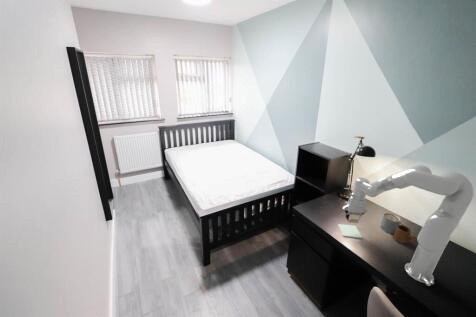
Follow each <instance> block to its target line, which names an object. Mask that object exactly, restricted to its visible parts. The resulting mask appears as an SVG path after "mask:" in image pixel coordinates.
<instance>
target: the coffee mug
mask: <svg viewBox="0 0 476 317" xmlns="http://www.w3.org/2000/svg"><path fill="white" fill-rule="evenodd" d="M398 225H404V226H406V223H405V222H402V221H401V217H399V216H398V215H397V214H394V213H391V212H384V213H383V215H382V217H381V221H380V224H379V228H380V227H381V228H380V229H381V230H382V231H384V232H385V233H389V234H394V233H395V231H396V228H397V226H398Z"/></svg>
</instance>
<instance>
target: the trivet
mask: <svg viewBox="0 0 476 317" xmlns="http://www.w3.org/2000/svg"><path fill="white" fill-rule="evenodd" d="M337 226H338V228H339V231H340V233H341V236H342V237H344V238H345V237H346V238H352V239H353V238H354V239H362V238H363V237H362V235H361V233H360V231H359V229H358V228H357V226H356V225H351V224H343V223H341V224H340V223H337Z"/></svg>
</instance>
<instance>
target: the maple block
mask: <svg viewBox="0 0 476 317" xmlns="http://www.w3.org/2000/svg"><path fill="white" fill-rule="evenodd" d="M360 220H361V216H360V214H359V213H352V212H350V214H349V219H348V220H347V222H348V223H353V224H359V221H360Z"/></svg>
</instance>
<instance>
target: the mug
mask: <svg viewBox="0 0 476 317" xmlns="http://www.w3.org/2000/svg"><path fill="white" fill-rule="evenodd" d="M393 234H394V235H393V239H394V240H395V242H398V243H400V244H403V245H404V244H407V243H408V241H409V242H411V243H414V242H416V241H417V237H416V235H415V234H413V233H412V229H411V228H410V227H408V226H406V225H405V226H404V225H402V224H399V225H398V226H397V228H396V231H395V233H393ZM411 237H412V238H411Z"/></svg>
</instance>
